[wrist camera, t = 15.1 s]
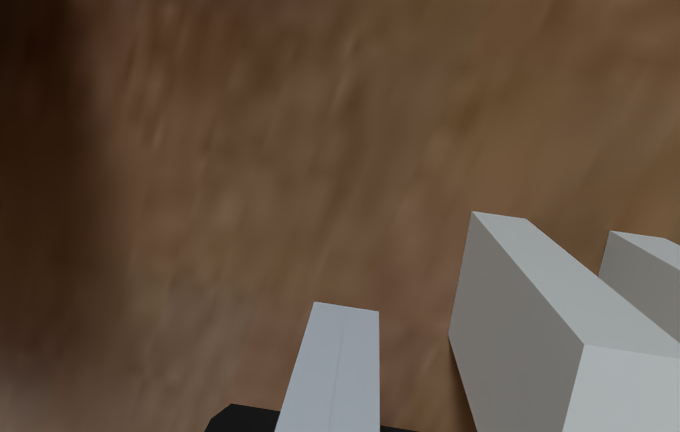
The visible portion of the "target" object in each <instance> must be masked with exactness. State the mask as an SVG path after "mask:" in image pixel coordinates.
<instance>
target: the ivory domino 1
mask: <svg viewBox="0 0 680 432" xmlns="http://www.w3.org/2000/svg"><path fill="white" fill-rule="evenodd" d="M448 336H449V340H450V343H451V346H452V350H453V353H454V356H455V359H456V363H457V366H458V369H459V373H460V376H461V379H462V383H463V386H464V389H465V392H466V396H467V399H468V402H469V406H470V409H471V412H472V415H473V419H474V422H475V425H476V429H477V432H680V343H679V342H677V341H676V340H675V339H674V338H672V337H671V336H670V335H669V334H667V333H666V332H665V331H664V330H663V329H661V328H660V327H659V326H658V325H656V324H655V323H654V322H653V321H651V320H650V319H649V318H648V317H646V316H645V315H644V314H643V313H642V312H640V311H639V310H638V309H637V308H635V307H634V306H633V305H632V304H630V303H629V302H628V301H627V300H625V299H624V298H623V297H622V296H621V295H619V294H618V293H617V292H616V291H614V290H613V289H612V288H611V287H609V286H608V285H607V284H606V283H604V282H603V281H602V280H601V279H600V278H598V277H597V276H596V275H595V274H593V273H592V272H591V271H590V270H588V269H587V268H586V267H585V266H583V265H582V264H581V263H580V262H579V261H577V260H576V259H575V258H574V257H572V256H571V255H570V254H569V253H567V252H566V251H565V250H564V249H562V248H561V247H560V246H559V245H558V244H556V243H555V242H554V241H553V240H551V239H550V238H549V237H548V236H546V235H545V234H544V233H543V232H541V231H540V230H539V229H538V228H537V227H535V226H534V225H533V224H532V223H530V222H529V221H528V220H527V219H523V218H516V217H509V216H502V215H495V214H488V213H481V212H474V211H472V213H471V218H470V223H469V229H468V234H467V239H466V244H465V249H464V255H463V260H462V265H461V270H460V275H459V280H458V286H457V291H456V296H455V301H454V306H453V312H452V317H451V322H450V327H449V332H448Z"/></svg>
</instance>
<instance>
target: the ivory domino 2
mask: <svg viewBox="0 0 680 432" xmlns="http://www.w3.org/2000/svg"><path fill="white" fill-rule="evenodd" d="M598 278H600V279H601V280H602V281H603V282H604V283H606V284H607V285H608V286H609V287H611V288H612V289H613V290H614V291H616V292H617V293H618V294H619V295H621V296H622V297H623V298H624V299H625V300H627V301H628V302H629V303H630V304H632V305H633V306H634V307H635V308H637V309H638V310H639V311H640V312H642V313H643V314H644V315H645V316H646V317H648V318H649V319H650V320H651V321H653V322H654V323H655V324H656V325H658V326H659V327H660V328H661V329H663V330H664V331H665V332H666V333H667V334H669V335H670V336H671V337H672V338H674V339H675V340H676V341H677V342H679V343H680V246H679V245H677V244H675V243H673V242H671V241H669V240H667V239H665V238H659V237H652V236H645V235H638V234H631V233H624V232H617V231H609V235H608V239H607V243H606V247H605V251H604V255H603V259H602V263H601V267H600V271H599V275H598Z"/></svg>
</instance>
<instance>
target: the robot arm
mask: <svg viewBox="0 0 680 432" xmlns="http://www.w3.org/2000/svg"><path fill="white" fill-rule="evenodd" d="M204 432H417V431H411V430H405V429H399V428H393V427H386V426H380V398H379V312H378V311H372V310H365V309H359V308H352V307H346V306H339V305H333V304H326V303H320V302H314V305H313V308H312V311H311V314H310V318H309V321H308V324H307V327H306V331H305V334H304V337H303V340H302V344H301V347H300V350H299V354H298V357H297V360H296V363H295V367H294V370H293V373H292V376H291V380H290V383H289V386H288V389H287V393H286V396H285V399H284V403H283V406H282V409H281V412H280V411H274V410H268V409H262V408H255V407H249V406H243V405H237V404H230V405H229V406H228V407H226V408H225V409H224V410H222V411H221V412H220V413H218V414H217V415H216V416H214V417H213V418H212V419H211V420H210V422H209V424H208V426H207V428H206V430H205V431H204Z"/></svg>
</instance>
